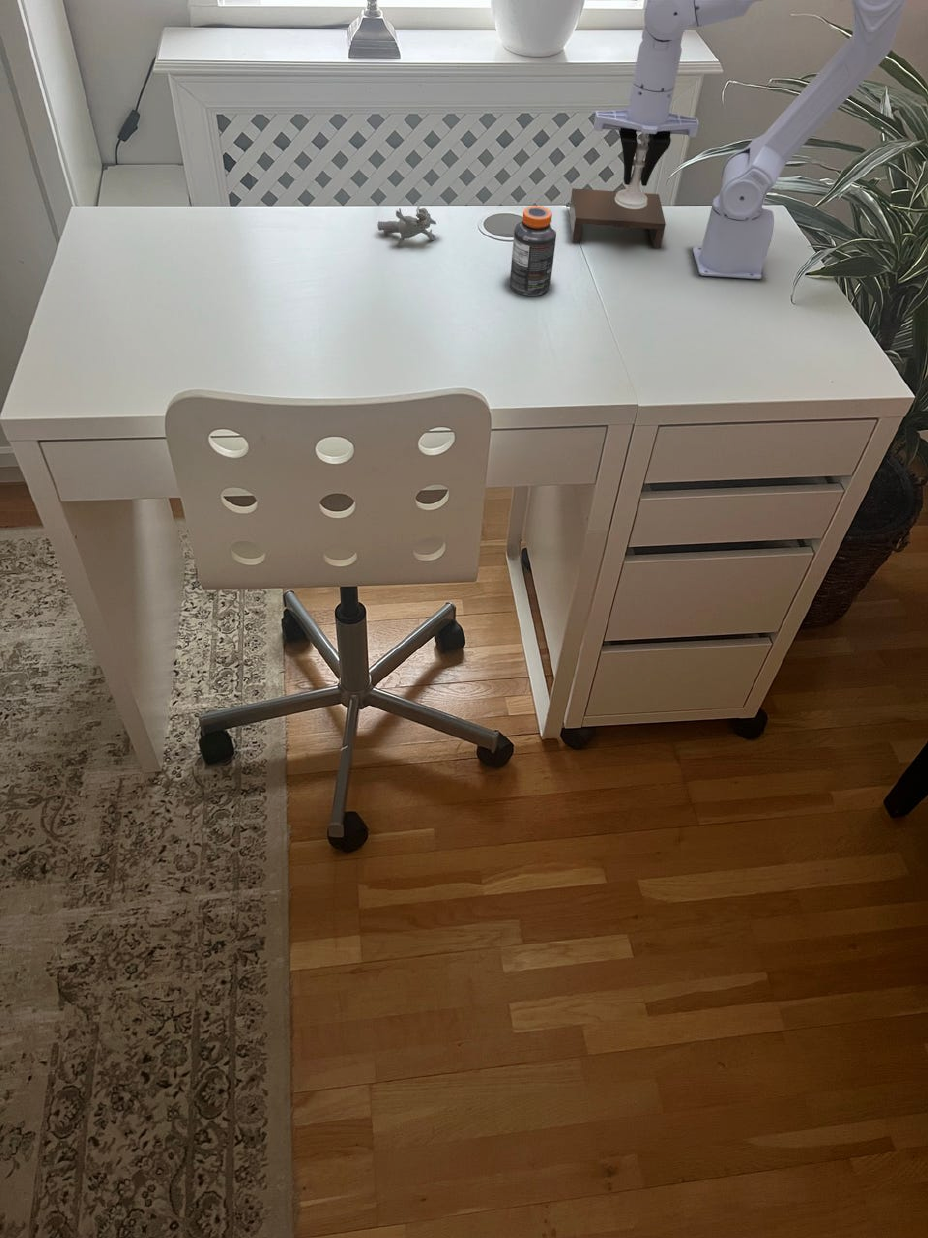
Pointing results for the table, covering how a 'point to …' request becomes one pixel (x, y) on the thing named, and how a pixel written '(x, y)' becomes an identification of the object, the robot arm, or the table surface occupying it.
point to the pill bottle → (533, 252)
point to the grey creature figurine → (409, 225)
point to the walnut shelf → (614, 213)
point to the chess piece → (635, 180)
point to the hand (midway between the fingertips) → (634, 182)
